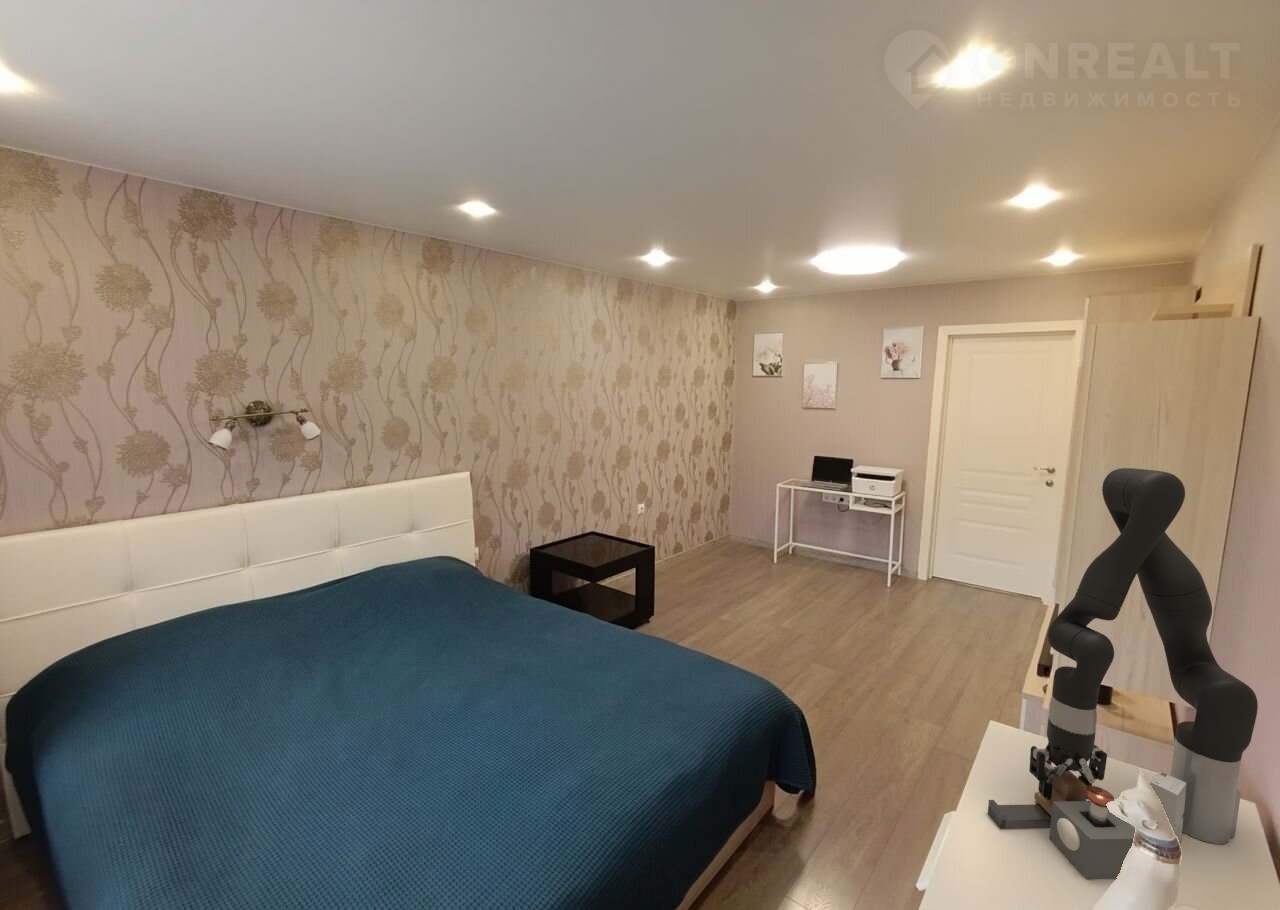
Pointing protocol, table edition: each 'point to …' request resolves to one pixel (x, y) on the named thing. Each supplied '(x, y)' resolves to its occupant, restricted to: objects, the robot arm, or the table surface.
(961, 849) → the table surface
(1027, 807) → the rail
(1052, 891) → the table surface
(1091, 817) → the plunger
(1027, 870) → the table surface
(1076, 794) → the stepped wooden block
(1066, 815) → the cabinet
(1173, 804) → the skincare box
